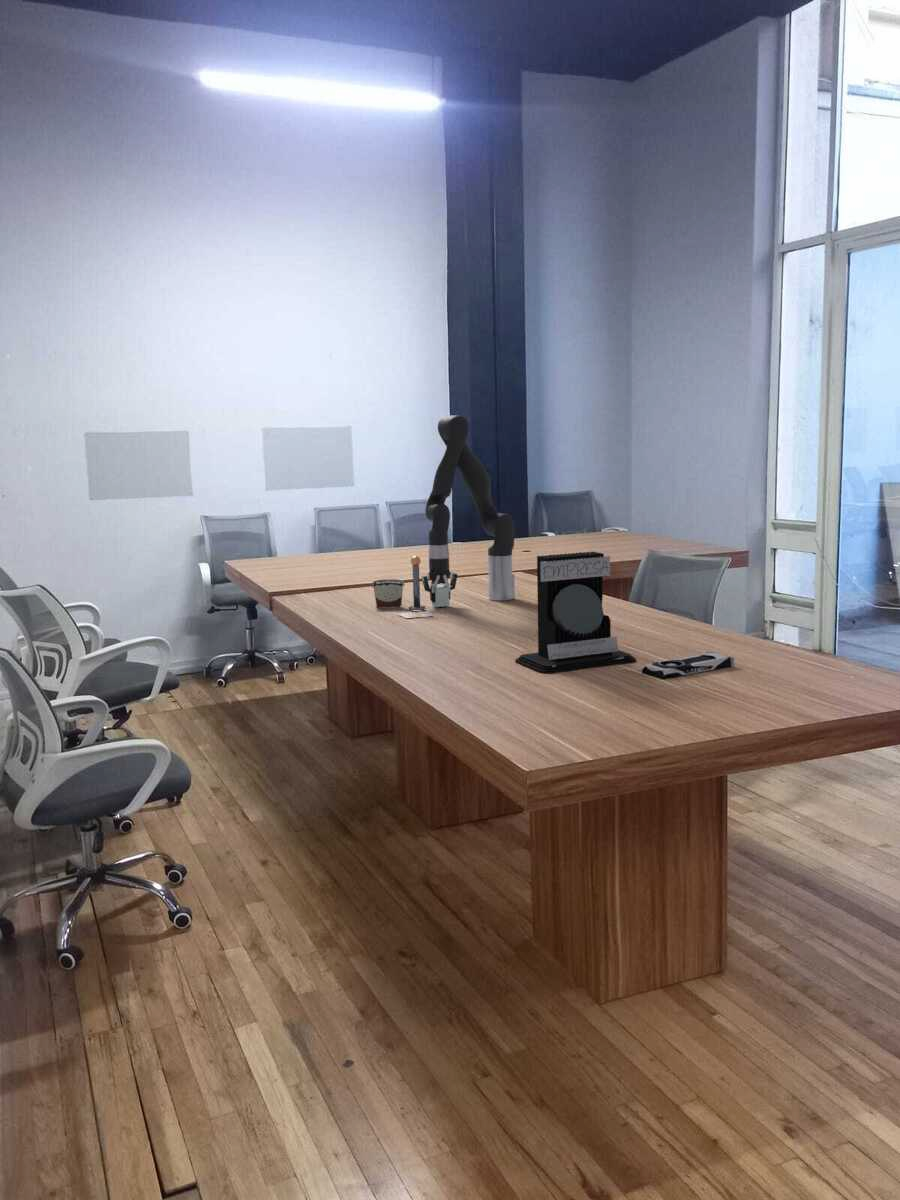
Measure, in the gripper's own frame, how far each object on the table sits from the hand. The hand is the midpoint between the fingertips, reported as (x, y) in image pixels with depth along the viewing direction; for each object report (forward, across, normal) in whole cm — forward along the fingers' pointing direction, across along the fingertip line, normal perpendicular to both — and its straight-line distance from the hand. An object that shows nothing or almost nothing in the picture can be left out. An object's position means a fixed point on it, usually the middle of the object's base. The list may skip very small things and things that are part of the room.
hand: (440, 601), depth 380 cm
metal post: (+2, +10, +2) cm, 11 cm away
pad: (+2, +15, +13) cm, 20 cm away
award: (+2, +1, +104) cm, 104 cm away
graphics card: (+3, -20, +127) cm, 129 cm away
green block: (+1, 0, 0) cm, 1 cm away
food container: (+2, +16, -11) cm, 20 cm away
